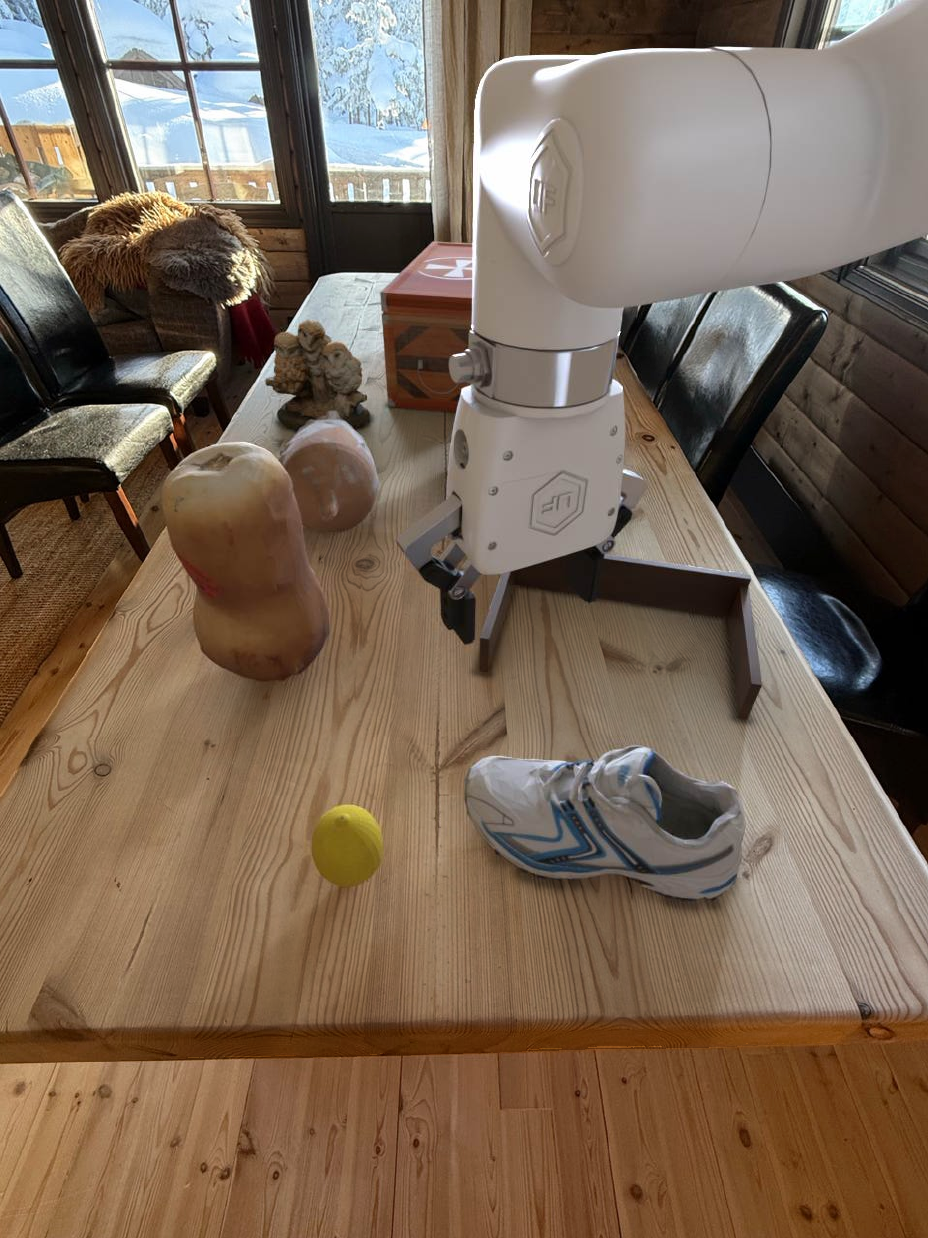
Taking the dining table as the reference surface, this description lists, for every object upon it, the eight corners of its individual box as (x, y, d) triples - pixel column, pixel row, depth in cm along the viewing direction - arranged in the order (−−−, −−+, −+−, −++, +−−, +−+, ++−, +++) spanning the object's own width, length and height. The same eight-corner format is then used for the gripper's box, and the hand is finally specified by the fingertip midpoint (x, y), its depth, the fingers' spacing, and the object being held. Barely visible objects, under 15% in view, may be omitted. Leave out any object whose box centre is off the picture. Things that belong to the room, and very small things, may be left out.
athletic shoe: (469, 765, 62) (469, 706, 52) (720, 797, 60) (768, 742, 50) (454, 876, 56) (450, 832, 46) (730, 915, 54) (787, 879, 44)
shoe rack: (747, 719, 67) (765, 678, 63) (478, 671, 72) (480, 630, 68) (736, 614, 79) (750, 574, 75) (507, 579, 84) (510, 540, 80)
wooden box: (521, 343, 152) (527, 245, 139) (494, 416, 122) (498, 300, 109) (434, 337, 155) (432, 240, 142) (387, 407, 124) (379, 292, 111)
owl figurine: (264, 432, 116) (243, 331, 105) (281, 404, 125) (264, 309, 114) (365, 434, 115) (355, 333, 104) (375, 407, 124) (367, 311, 113)
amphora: (266, 488, 76) (286, 351, 95) (268, 580, 88) (286, 443, 107) (385, 500, 79) (382, 365, 98) (372, 588, 91) (371, 453, 110)
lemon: (394, 891, 53) (387, 837, 48) (326, 914, 51) (311, 861, 46) (377, 833, 57) (369, 777, 52) (313, 853, 55) (298, 798, 50)
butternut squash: (187, 665, 72) (108, 456, 56) (286, 606, 80) (242, 407, 63) (264, 730, 65) (198, 513, 49) (364, 659, 73) (336, 451, 57)
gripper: (420, 420, 29) (431, 686, 40) (717, 360, 35) (654, 606, 46) (362, 365, 34) (386, 615, 45) (630, 320, 40) (592, 551, 51)
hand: (521, 610), depth 46 cm, fingers open, 9 cm apart
